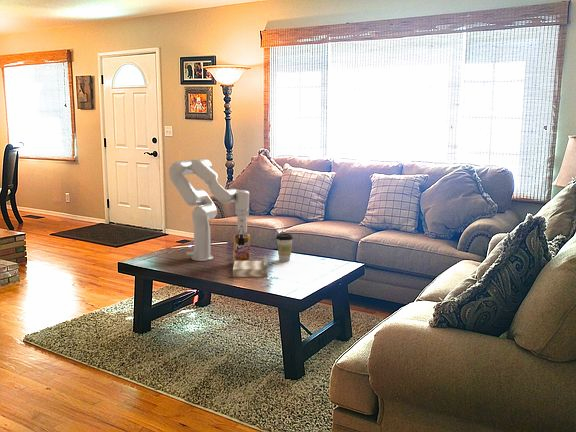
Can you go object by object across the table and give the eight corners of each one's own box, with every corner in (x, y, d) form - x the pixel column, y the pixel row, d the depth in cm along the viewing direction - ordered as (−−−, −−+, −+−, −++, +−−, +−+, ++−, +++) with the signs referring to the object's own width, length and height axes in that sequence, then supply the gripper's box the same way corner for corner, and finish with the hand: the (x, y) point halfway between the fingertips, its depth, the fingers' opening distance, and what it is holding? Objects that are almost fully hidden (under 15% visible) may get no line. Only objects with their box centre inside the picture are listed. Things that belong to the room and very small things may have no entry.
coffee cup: (273, 261, 331) (273, 236, 329) (279, 257, 340) (280, 233, 338) (289, 263, 328) (289, 237, 325) (295, 259, 337) (295, 234, 334)
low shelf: (232, 276, 298) (232, 264, 297) (234, 267, 316) (234, 256, 315) (267, 276, 299) (267, 264, 298) (267, 267, 317) (267, 256, 316)
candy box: (233, 261, 323) (234, 235, 321) (232, 259, 327) (233, 233, 325) (249, 261, 325) (250, 235, 323) (248, 259, 329) (248, 233, 327)
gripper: (248, 215, 313) (247, 247, 316) (249, 209, 330) (248, 240, 333) (234, 214, 313) (234, 247, 316) (236, 209, 329) (235, 240, 333)
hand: (241, 243), depth 324 cm, fingers closed on candy box, 4 cm apart
